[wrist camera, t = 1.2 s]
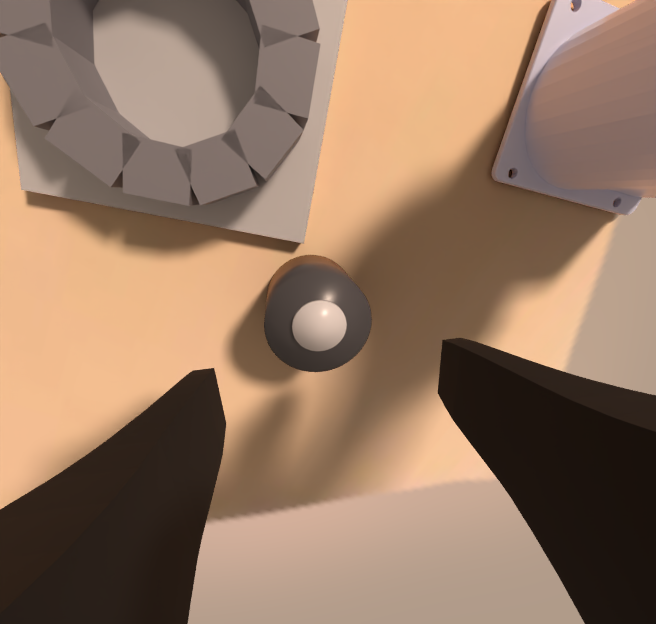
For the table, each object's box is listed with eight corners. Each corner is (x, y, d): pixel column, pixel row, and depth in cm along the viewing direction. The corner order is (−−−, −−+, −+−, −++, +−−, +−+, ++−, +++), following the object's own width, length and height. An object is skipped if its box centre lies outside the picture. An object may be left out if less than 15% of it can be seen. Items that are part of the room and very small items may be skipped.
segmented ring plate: (356, -60, 12) (381, -141, 9) (302, 241, 16) (308, 251, 13) (-4, -210, 10) (-127, -387, 7) (35, 189, 14) (-32, 188, 11)
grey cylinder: (360, 263, 17) (384, 283, 13) (342, 340, 19) (358, 378, 15) (274, 247, 16) (272, 264, 12) (261, 330, 18) (257, 368, 14)
